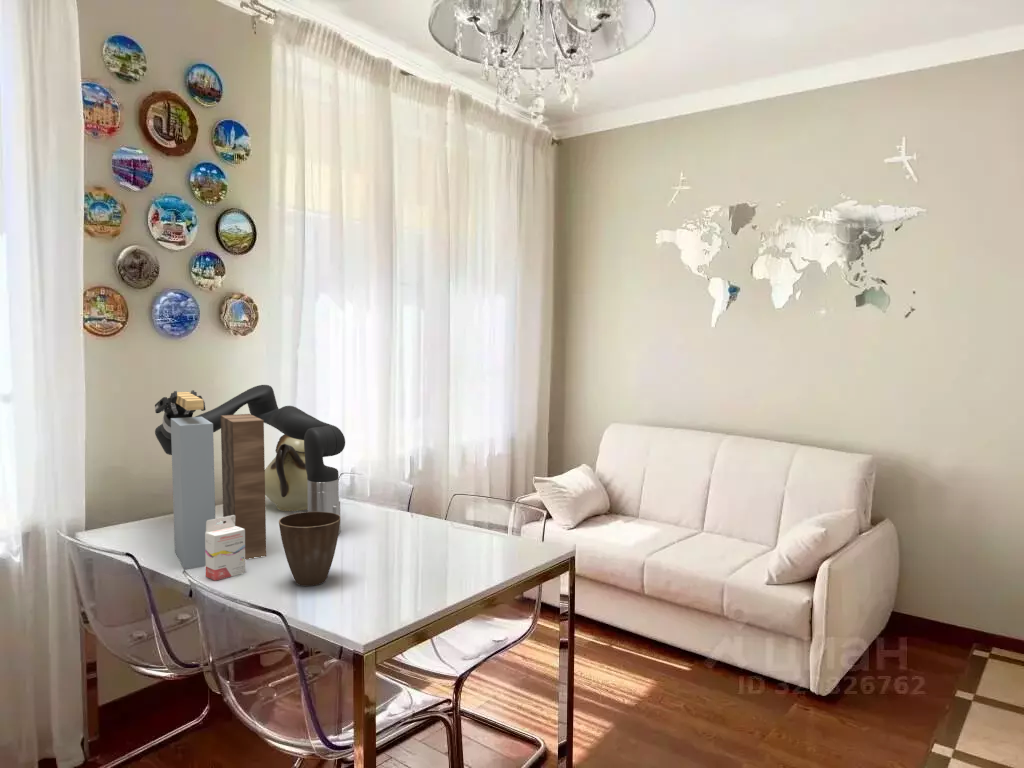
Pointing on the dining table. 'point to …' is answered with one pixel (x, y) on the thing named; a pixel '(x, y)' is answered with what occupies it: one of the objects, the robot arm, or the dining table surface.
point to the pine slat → (189, 401)
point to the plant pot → (310, 545)
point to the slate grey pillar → (192, 487)
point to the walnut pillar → (245, 478)
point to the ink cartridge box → (224, 548)
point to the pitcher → (287, 476)
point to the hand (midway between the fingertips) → (184, 393)
